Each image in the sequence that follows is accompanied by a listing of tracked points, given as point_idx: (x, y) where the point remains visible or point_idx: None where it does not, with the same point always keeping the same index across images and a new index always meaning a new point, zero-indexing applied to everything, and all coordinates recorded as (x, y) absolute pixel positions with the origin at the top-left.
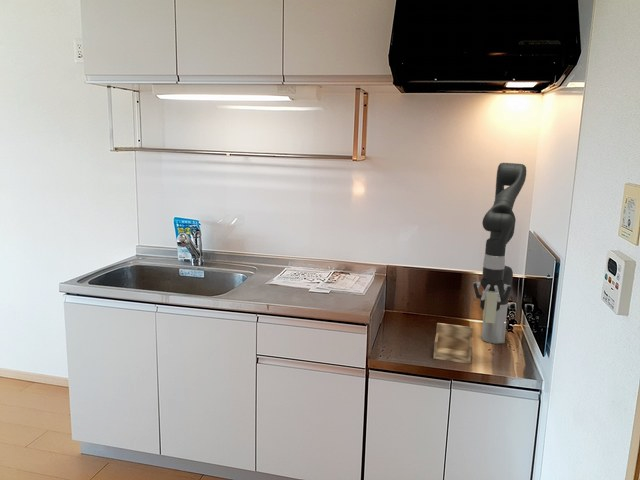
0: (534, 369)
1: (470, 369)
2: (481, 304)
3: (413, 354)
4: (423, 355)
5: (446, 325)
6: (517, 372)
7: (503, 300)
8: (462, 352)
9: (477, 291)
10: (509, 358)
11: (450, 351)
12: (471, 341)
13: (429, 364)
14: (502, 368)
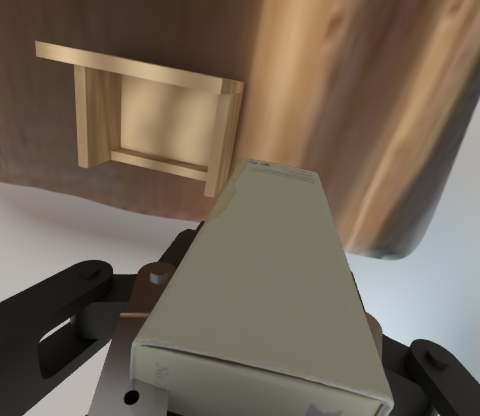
0: (441, 195)
1: None
2: None
3: (57, 128)
4: None
5: (86, 66)
6: (365, 221)
7: None
8: (208, 106)
9: (31, 394)
10: (388, 111)
11: (166, 105)
12: (219, 143)
13: (109, 194)
14: None
